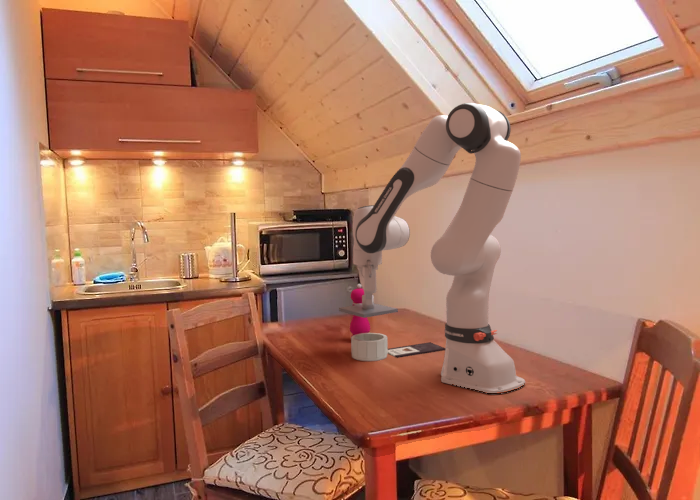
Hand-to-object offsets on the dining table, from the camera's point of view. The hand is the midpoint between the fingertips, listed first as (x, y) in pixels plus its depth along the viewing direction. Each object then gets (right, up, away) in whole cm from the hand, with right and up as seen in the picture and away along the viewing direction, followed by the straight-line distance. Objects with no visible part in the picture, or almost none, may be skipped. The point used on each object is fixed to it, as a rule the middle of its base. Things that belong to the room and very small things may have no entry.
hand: (368, 303), depth 162 cm
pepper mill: (-2, -15, +20) cm, 26 cm away
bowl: (0, -17, +1) cm, 17 cm away
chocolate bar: (+15, -17, +7) cm, 23 cm away
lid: (0, -3, 0) cm, 3 cm away
